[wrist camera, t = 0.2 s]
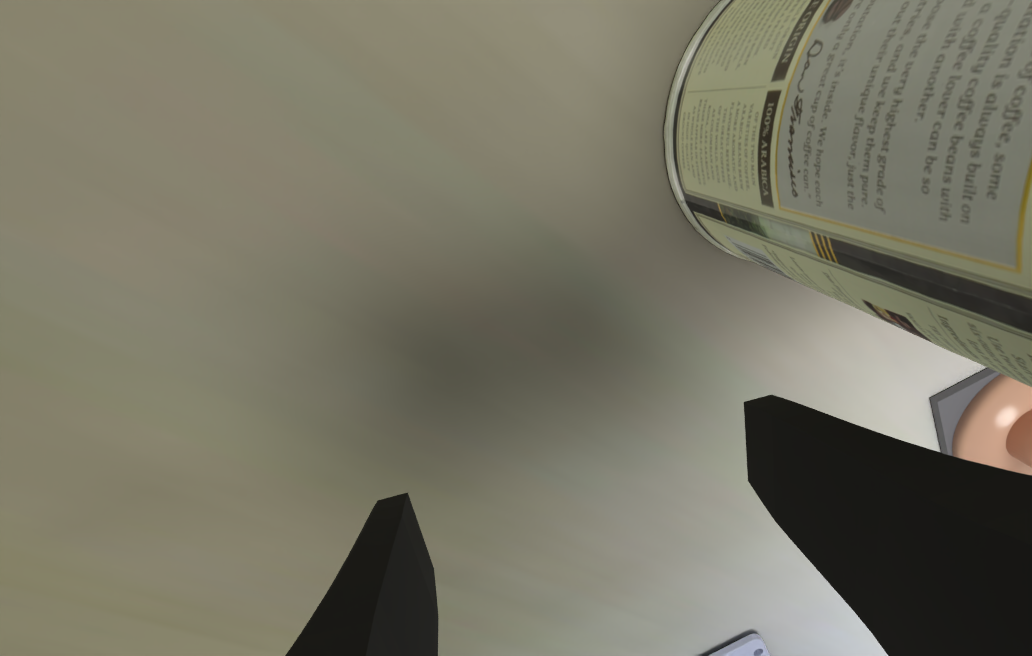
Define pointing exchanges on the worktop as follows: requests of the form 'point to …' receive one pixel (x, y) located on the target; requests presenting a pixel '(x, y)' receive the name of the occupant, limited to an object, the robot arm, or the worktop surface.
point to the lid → (997, 427)
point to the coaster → (956, 405)
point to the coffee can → (870, 158)
